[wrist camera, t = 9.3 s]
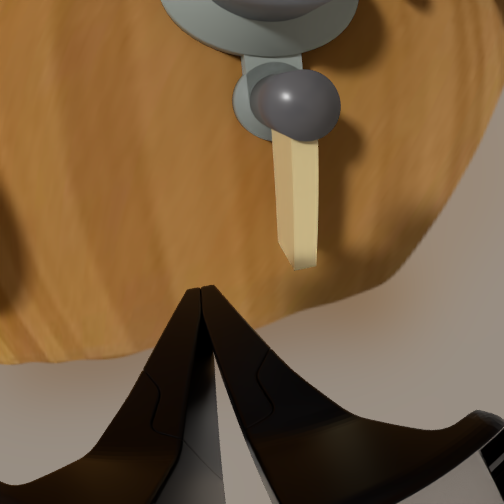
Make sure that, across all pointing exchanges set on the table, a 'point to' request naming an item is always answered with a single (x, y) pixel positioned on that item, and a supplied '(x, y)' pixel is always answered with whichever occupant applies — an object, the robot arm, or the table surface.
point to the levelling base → (261, 37)
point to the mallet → (296, 152)
